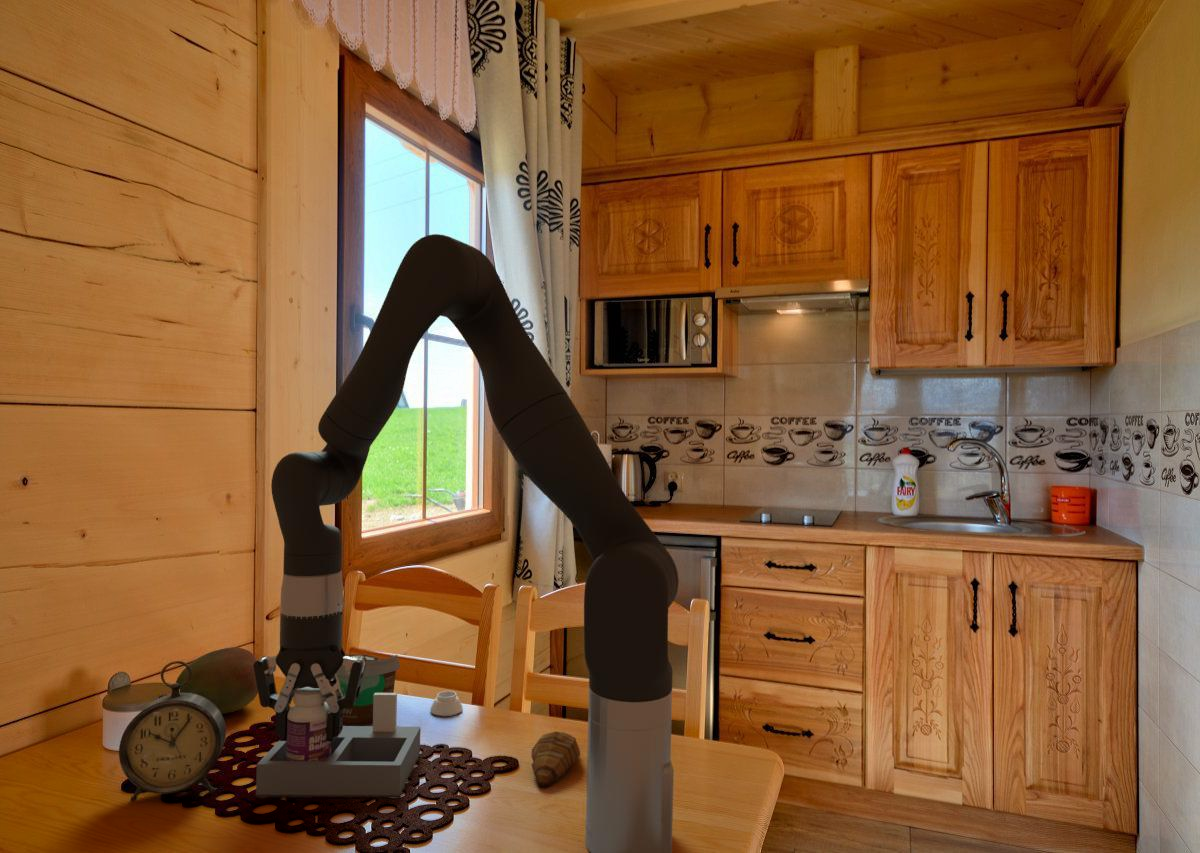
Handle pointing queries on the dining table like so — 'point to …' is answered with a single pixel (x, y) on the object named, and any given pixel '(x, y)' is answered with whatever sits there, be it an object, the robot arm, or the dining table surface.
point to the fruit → (222, 678)
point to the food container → (368, 688)
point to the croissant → (553, 757)
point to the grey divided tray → (348, 761)
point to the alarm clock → (172, 742)
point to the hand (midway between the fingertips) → (309, 738)
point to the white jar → (446, 704)
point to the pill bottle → (308, 727)
